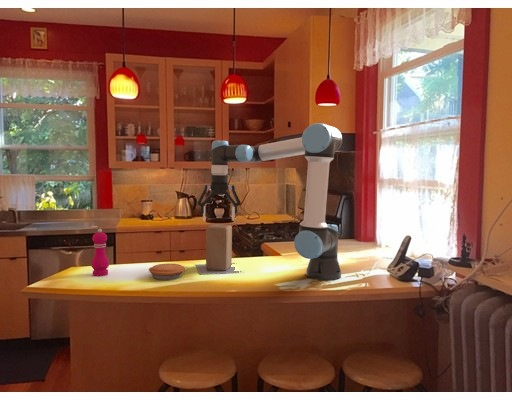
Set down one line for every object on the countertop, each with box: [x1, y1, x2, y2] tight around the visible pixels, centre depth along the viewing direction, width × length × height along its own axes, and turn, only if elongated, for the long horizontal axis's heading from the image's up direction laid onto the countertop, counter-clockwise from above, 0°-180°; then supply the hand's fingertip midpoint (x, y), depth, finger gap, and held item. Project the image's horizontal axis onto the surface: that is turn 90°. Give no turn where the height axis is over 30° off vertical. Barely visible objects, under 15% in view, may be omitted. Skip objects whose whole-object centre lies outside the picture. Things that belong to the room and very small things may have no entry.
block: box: [205, 224, 233, 271], centre depth 197 cm, size 10×10×20 cm
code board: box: [195, 262, 240, 276], centre depth 198 cm, size 20×20×1 cm
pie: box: [148, 263, 186, 281], centre depth 182 cm, size 15×16×5 cm
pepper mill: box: [90, 228, 110, 277], centre depth 183 cm, size 7×7×20 cm
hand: (218, 220), depth 197 cm, fingers open, 13 cm apart
